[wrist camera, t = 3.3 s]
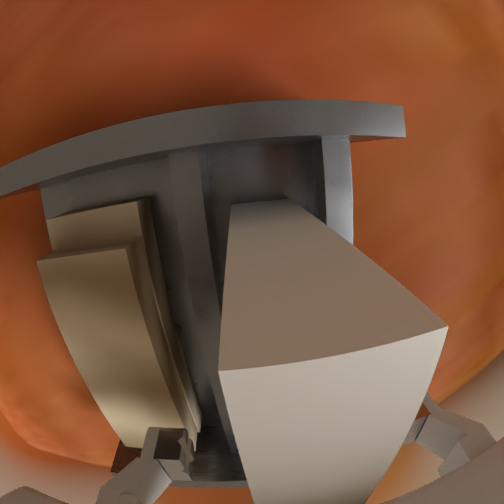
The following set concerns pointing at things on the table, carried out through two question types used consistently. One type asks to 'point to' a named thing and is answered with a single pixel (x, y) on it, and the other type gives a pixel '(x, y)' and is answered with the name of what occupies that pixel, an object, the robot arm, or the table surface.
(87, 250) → the offcut stack
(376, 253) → the table surface
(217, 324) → the rack
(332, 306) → the cream slab
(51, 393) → the table surface
